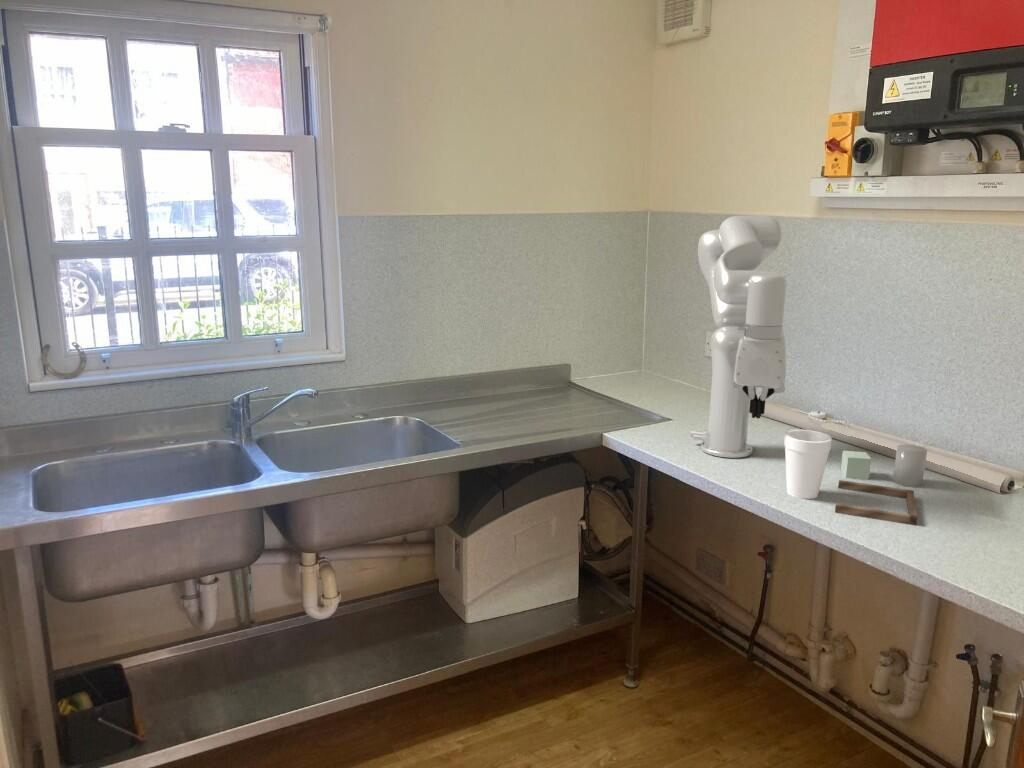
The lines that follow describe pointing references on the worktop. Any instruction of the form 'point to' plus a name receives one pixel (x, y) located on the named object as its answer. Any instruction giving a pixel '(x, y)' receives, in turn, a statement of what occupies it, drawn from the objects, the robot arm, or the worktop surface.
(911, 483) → the grey ceramic jar
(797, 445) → the foam cup
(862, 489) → the dark wooden bay
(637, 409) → the worktop surface
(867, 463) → the sage painted block
